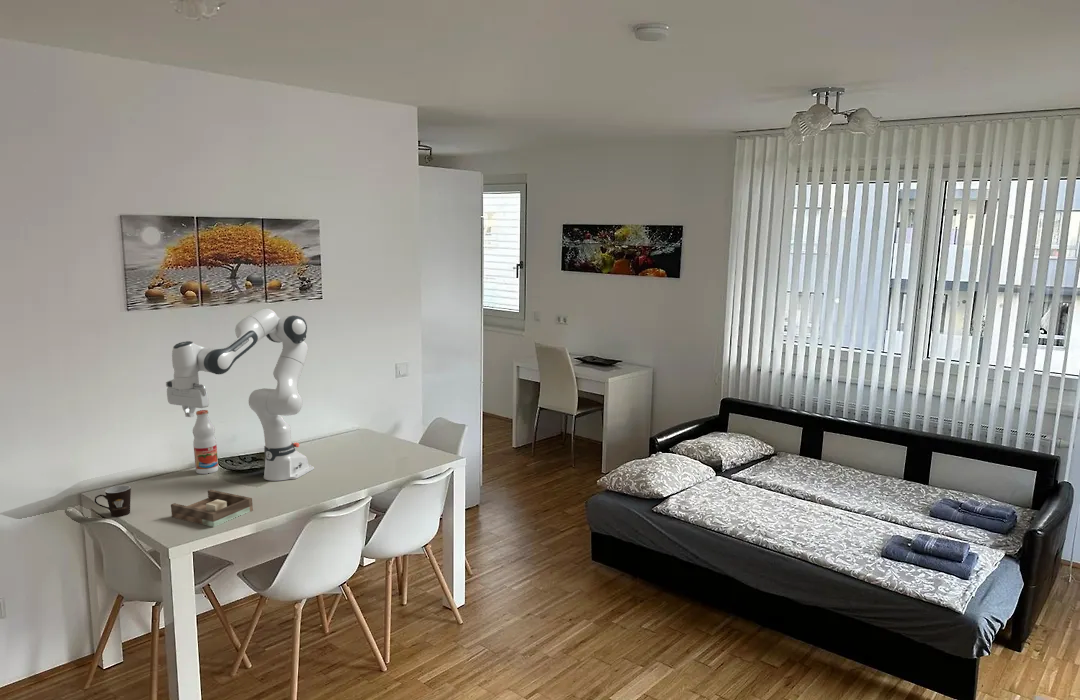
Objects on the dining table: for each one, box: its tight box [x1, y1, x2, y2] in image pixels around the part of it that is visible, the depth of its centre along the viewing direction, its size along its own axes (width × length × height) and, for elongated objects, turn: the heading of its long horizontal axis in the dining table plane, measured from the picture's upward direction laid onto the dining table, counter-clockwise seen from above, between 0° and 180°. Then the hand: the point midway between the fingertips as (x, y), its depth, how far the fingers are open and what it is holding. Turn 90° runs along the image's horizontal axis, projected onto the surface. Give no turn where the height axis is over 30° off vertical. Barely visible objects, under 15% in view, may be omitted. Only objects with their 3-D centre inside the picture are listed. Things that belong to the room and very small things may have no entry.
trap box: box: [170, 489, 254, 528], centre depth 283 cm, size 23×18×5 cm
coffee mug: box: [94, 484, 132, 518], centre depth 283 cm, size 12×9×10 cm
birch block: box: [206, 499, 227, 512], centre depth 276 cm, size 5×5×5 cm
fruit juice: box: [192, 409, 219, 475], centre depth 332 cm, size 9×9×28 cm
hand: (189, 416), depth 294 cm, fingers closed
